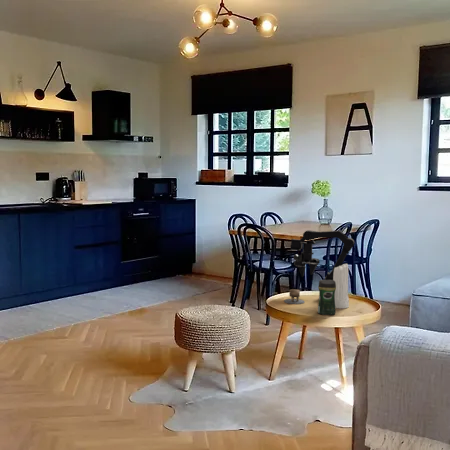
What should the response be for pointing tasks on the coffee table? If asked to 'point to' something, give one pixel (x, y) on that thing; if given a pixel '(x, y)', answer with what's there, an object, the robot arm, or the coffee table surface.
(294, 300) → the felt mat
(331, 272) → the robot arm
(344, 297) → the decorative vase
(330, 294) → the coffee jar
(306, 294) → the coffee table surface
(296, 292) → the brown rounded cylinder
